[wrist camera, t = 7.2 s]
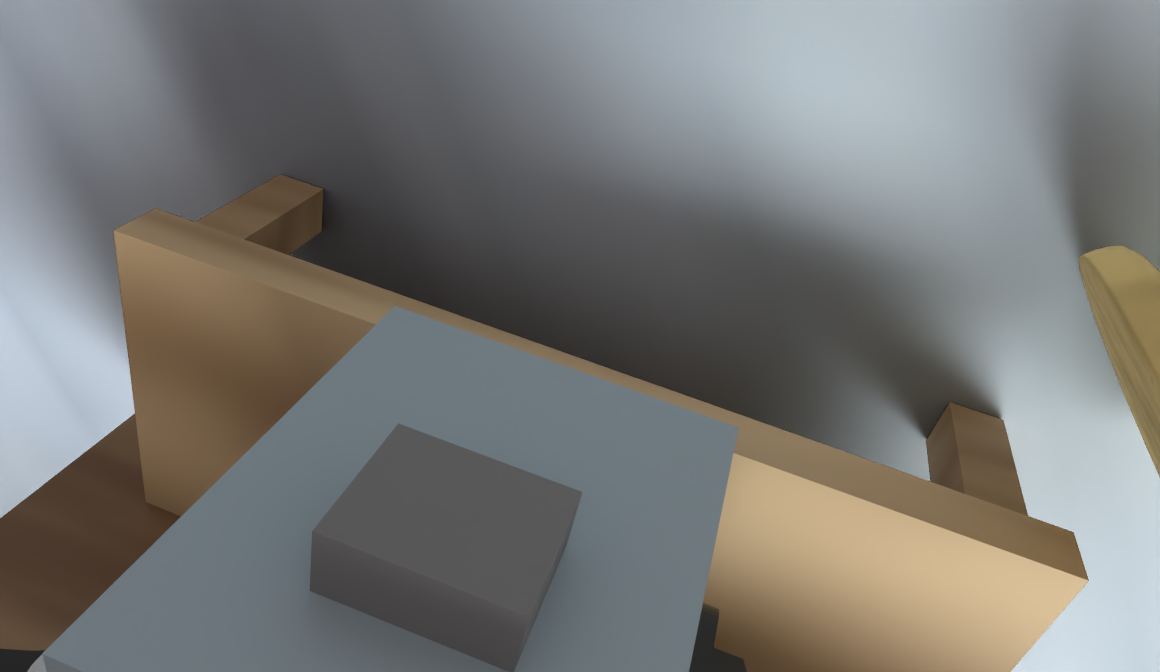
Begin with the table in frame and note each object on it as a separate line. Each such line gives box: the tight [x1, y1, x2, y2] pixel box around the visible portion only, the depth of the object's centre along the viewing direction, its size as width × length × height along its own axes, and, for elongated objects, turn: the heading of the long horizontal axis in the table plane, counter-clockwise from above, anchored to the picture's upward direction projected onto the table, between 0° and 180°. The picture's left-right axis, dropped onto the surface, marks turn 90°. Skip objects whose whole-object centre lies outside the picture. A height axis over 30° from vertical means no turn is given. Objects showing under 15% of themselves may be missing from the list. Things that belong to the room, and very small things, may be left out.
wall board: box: [0, 174, 1089, 672], centre depth 15 cm, size 11×20×10 cm, turn 77°
